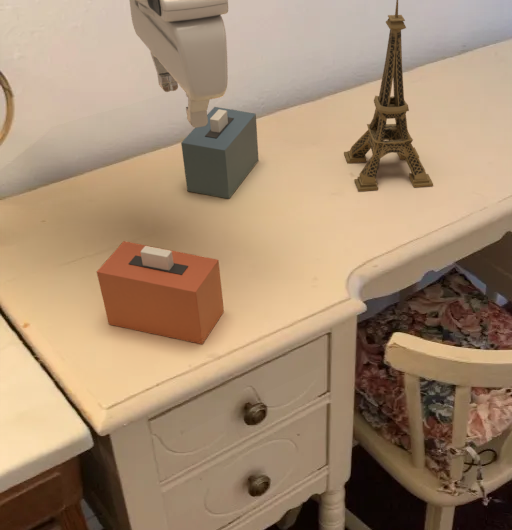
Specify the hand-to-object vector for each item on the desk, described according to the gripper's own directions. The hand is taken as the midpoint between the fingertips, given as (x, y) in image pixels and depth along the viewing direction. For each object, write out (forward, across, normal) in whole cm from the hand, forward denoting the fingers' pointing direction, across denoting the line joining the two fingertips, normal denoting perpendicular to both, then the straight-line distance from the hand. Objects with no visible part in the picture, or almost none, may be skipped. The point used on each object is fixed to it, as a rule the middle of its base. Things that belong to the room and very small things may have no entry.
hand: (183, 106), depth 92 cm
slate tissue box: (+17, -13, +8) cm, 23 cm away
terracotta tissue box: (+17, +13, -9) cm, 23 cm away
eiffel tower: (+17, -5, +30) cm, 35 cm away
